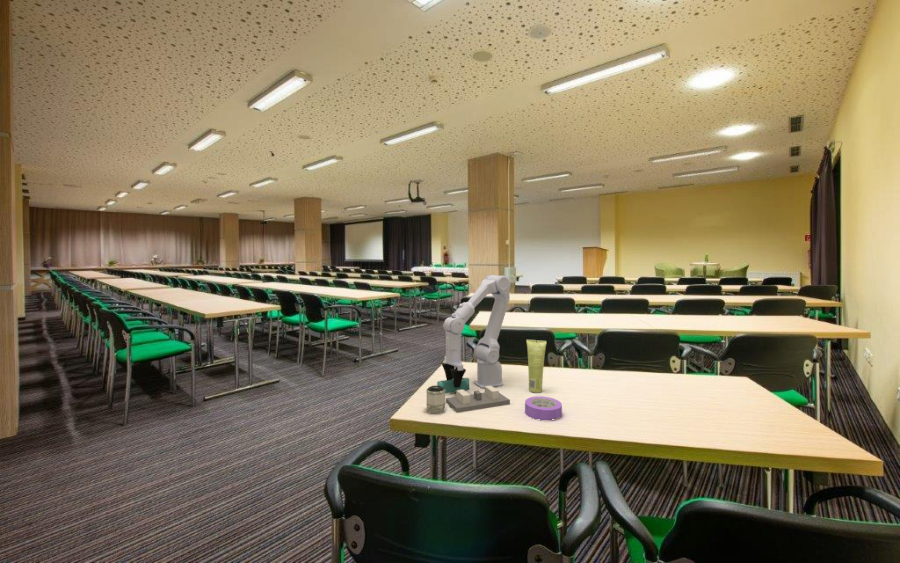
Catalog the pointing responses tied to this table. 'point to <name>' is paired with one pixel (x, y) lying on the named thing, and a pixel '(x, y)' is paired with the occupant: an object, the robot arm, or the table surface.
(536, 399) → the masking tape
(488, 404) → the display stand
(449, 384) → the teal dome-capped pillar
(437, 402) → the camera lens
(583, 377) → the table surface
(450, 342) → the robot arm
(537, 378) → the tube
